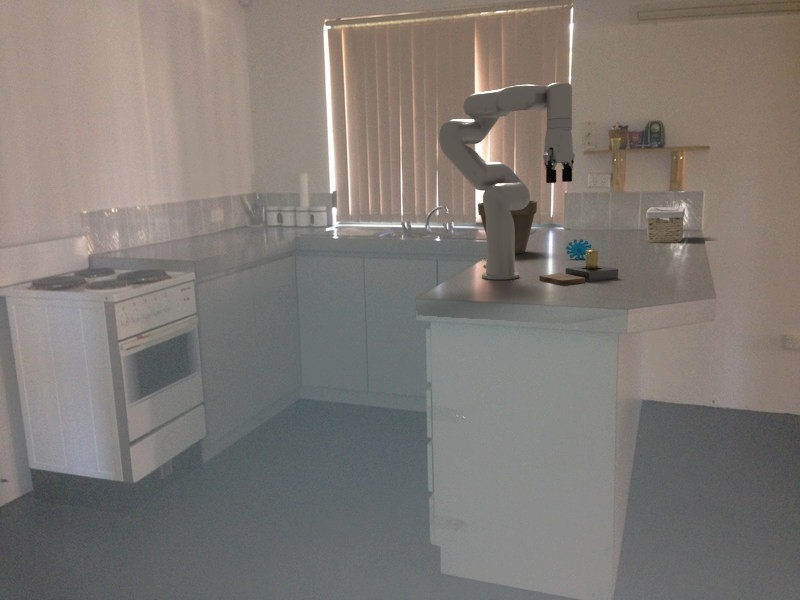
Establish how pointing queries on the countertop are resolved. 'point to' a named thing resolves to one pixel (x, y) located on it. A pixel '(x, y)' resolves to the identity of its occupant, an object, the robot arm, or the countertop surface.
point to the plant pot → (517, 224)
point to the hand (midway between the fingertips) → (559, 182)
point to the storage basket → (665, 224)
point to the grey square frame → (593, 273)
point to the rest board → (562, 279)
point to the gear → (578, 249)
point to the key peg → (591, 260)
